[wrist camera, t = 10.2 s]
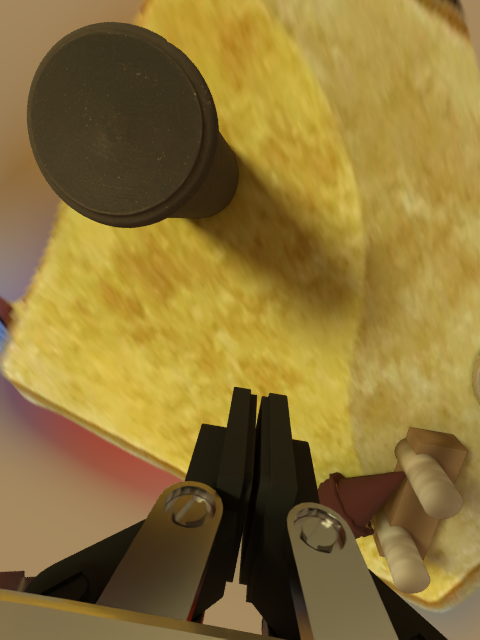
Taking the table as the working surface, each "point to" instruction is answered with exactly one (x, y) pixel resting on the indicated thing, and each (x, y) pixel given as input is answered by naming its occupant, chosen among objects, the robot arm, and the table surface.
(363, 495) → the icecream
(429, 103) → the table surface
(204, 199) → the container
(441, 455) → the rail
